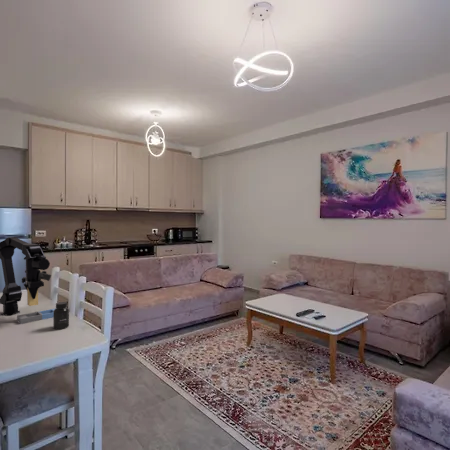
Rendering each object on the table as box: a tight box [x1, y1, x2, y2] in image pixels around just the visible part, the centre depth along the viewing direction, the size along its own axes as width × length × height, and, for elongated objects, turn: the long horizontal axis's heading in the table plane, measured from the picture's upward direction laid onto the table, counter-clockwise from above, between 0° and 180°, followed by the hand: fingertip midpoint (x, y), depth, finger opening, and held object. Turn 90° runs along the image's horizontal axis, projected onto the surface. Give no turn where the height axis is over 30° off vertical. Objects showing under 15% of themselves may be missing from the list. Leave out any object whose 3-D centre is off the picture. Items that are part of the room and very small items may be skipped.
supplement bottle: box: [52, 301, 70, 330], centre depth 152 cm, size 7×7×12 cm
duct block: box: [16, 307, 56, 325], centre depth 166 cm, size 19×8×2 cm, turn 135°
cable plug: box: [26, 287, 39, 307], centre depth 163 cm, size 4×4×9 cm
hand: (32, 298), depth 163 cm, fingers closed on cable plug, 4 cm apart
